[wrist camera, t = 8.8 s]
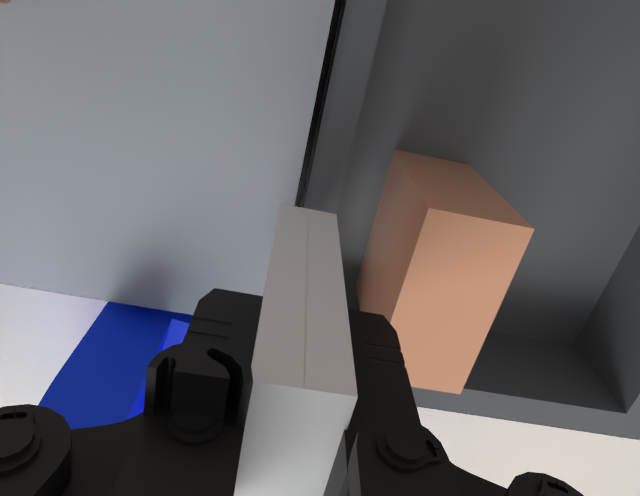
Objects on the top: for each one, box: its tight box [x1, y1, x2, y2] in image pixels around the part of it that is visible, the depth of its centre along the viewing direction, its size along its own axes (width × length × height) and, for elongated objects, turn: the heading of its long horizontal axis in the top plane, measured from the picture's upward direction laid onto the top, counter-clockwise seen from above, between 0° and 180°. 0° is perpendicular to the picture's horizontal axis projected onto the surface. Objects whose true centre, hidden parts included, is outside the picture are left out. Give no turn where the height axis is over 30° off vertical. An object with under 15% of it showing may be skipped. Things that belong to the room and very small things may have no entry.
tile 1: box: [356, 149, 535, 394], centre depth 14 cm, size 5×5×2 cm
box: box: [301, 0, 640, 440], centre depth 14 cm, size 12×16×4 cm
